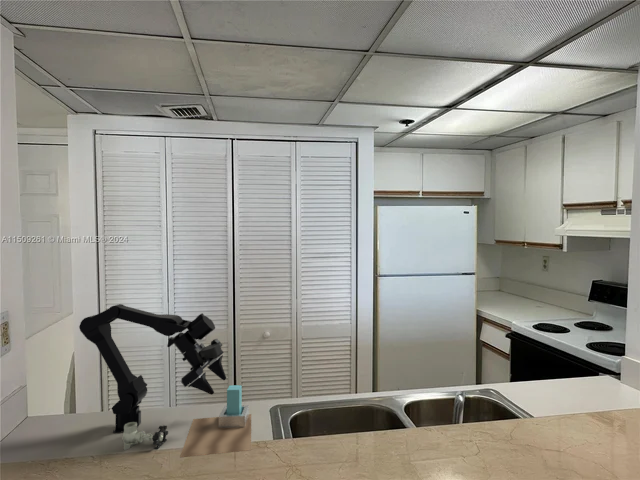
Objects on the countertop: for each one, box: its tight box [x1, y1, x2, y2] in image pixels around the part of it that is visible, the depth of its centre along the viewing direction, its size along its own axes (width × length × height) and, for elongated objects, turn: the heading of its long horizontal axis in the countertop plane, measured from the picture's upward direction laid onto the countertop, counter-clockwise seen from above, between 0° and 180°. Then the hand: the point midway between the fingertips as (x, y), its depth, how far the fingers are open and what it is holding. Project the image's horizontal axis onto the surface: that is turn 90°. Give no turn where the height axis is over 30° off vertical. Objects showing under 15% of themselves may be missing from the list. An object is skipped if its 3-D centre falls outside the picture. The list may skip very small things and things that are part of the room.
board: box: [179, 413, 252, 458], centre depth 112 cm, size 19×23×1 cm
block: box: [226, 384, 243, 415], centre depth 120 cm, size 4×4×11 cm
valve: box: [122, 422, 169, 451], centre depth 106 cm, size 7×7×12 cm
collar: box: [218, 404, 250, 428], centre depth 120 cm, size 8×8×4 cm
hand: (219, 386), depth 119 cm, fingers open, 9 cm apart
